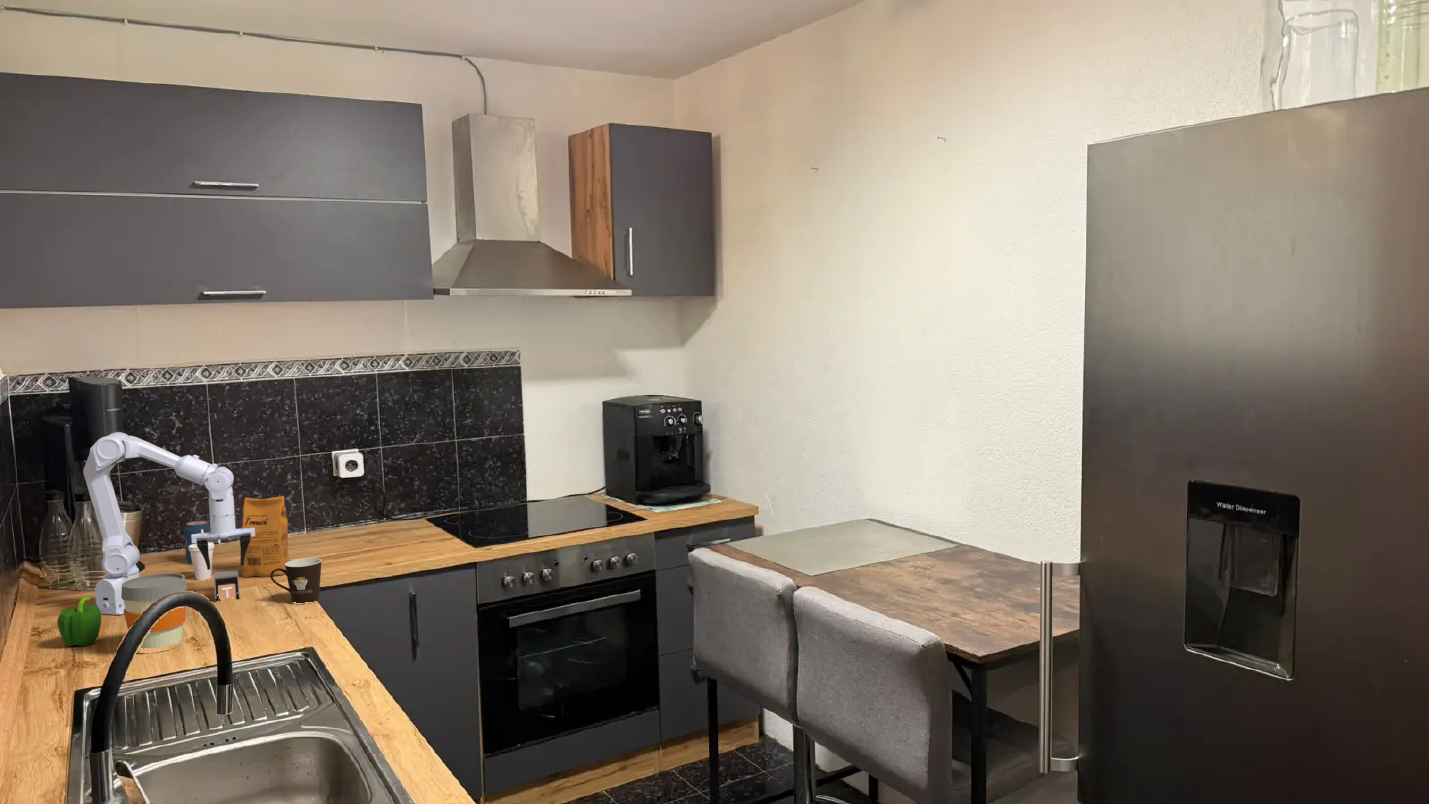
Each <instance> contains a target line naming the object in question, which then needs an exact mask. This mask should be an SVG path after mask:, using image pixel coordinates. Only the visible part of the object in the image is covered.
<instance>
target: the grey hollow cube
mask: <svg viewBox="0 0 1429 804" xmlns="http://www.w3.org/2000/svg"><path fill="white" fill-rule="evenodd" d="M239 578H240V577H239V569H230V570H224V571H223V570H222V571H216V572H215V571H213V586H214V600H215V599H217V598H218V597H217V594H218V583H219V582H226V581H234V580H235V586H236V593H237V592H238V594H237V597H240V598H241V594H240V579H239Z"/></svg>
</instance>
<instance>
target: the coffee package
mask: <svg viewBox="0 0 1429 804" xmlns="http://www.w3.org/2000/svg"><path fill="white" fill-rule="evenodd" d="M243 500H244V501H243V507H242V508H243V509H242V511H243V513H242V514H243V515H242V525H241V529H244V528H255V536H253V537H251V536H250V538H251V540H250V543H249V545H248V548H247V550H246V554H245V558H244V565H242V566H241V567H242V576H243V578H244V579H247V578H251V577H252V578H253V577H260V578H268V577H270V575H271V572H272V571H273V570H275V569H278V568H281V569H284V570H286V568H285V563H287V562H289V561H291V560H290V556H289V554H290V553H289V550H288V547H289V531H288V523H289V522H288V517H287V510H286V509H287V508H286V505H285V504H286V503H285V496H284V495H282V496H276V497H268V498H252V497H245V498H244V499H243ZM281 575H282V576H283V575H285V573H284V572H282V571H276V572H274V573H273V577H275V576H276V577H277V576H281Z"/></svg>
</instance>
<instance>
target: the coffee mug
mask: <svg viewBox="0 0 1429 804" xmlns="http://www.w3.org/2000/svg"><path fill="white" fill-rule="evenodd" d="M285 568H286V570H284V569H281V568H278V569H275V570H273V571H272V572H271V575H270V580H271V581H272V582H273V583H274V584H275V585H276V586H278V587H279V588H281V589H284V590H286V591H288V592H289V594H290V599H291V603H292V602H296V603H305V602H313V603H315V602H314V601H316V602H317V601H319V600H320V591H321V589H320V588H321V574H322V559H320V558H316V557H307V558H304V557H303V558H297V559H293V560H290V561H289V562H287V563H285ZM276 571H282V572H284V575H285V576H286V578H287V584H288V587H287V586H284V585H283V584H281V583H279V582H278V581H276V579H275V578H274V576H273V573H274V572H276Z"/></svg>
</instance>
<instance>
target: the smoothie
mask: <svg viewBox="0 0 1429 804" xmlns="http://www.w3.org/2000/svg"><path fill="white" fill-rule="evenodd" d="M201 533H203V529H202V530H201ZM214 548H215V543H214V542H212V541H211V542H208V551H209V559H210V570H207V565H206V562H205V560H204V557H203V555H202V554H201V552H200V550H199V549H198V547H197V543H196V544H192V545H190V546H189V549H188V550H189V551H190V553H191V558H192V563H193V564H192V567H193V571H194V576H195V580H196V579H197V580H196V581H198V580H202V581H206V580H205V579H208V580H210V579H211V578H212V569H213V555H214ZM209 578H210V579H209Z"/></svg>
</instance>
